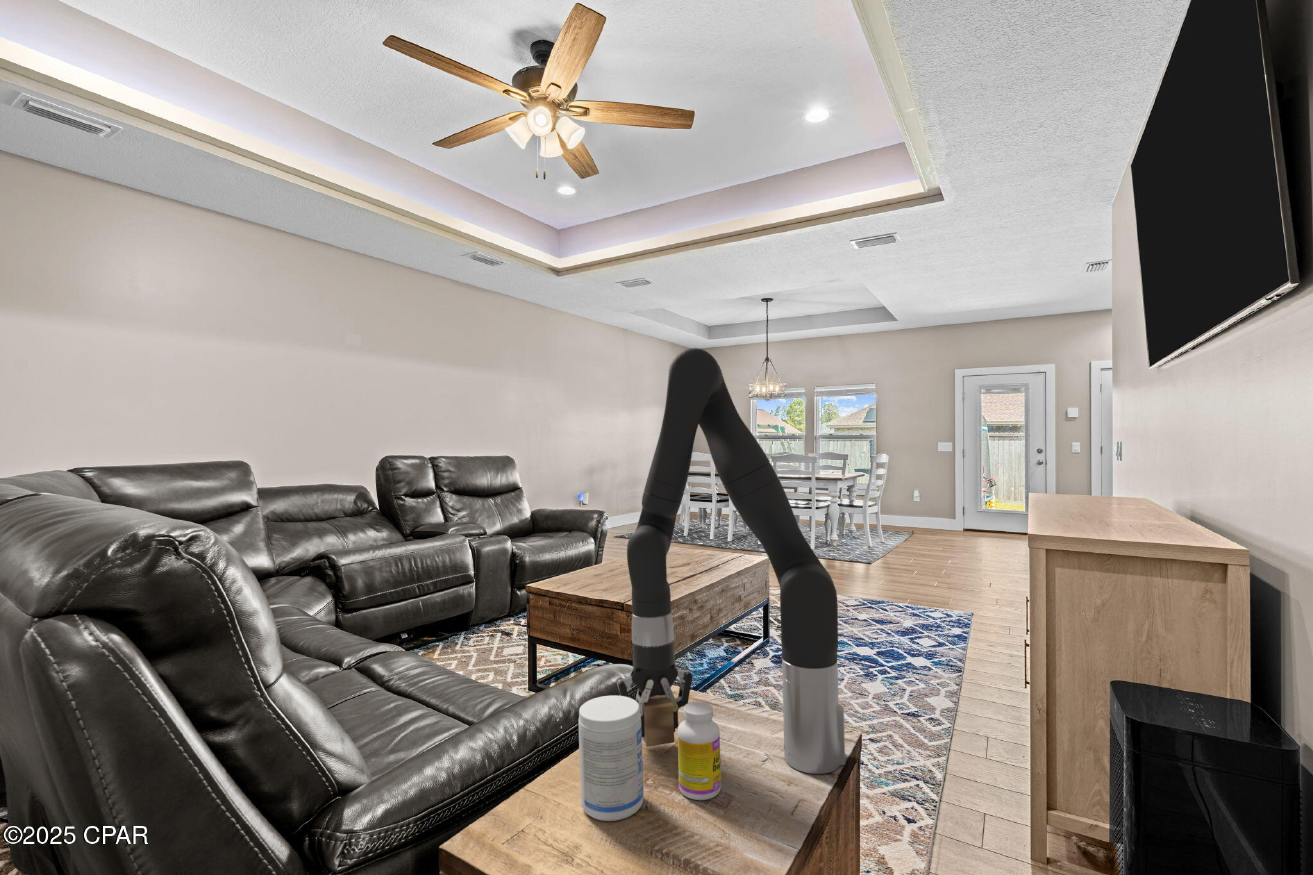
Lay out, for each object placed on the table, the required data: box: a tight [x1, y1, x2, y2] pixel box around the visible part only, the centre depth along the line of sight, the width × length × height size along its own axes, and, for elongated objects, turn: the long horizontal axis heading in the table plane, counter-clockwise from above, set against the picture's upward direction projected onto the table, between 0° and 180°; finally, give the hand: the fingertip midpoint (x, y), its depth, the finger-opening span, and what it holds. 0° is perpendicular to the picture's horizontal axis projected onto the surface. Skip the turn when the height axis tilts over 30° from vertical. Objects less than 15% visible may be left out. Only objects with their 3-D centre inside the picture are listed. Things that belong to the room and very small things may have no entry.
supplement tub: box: [578, 695, 645, 822], centre depth 90 cm, size 10×10×15 cm
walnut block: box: [642, 695, 675, 748], centre depth 106 cm, size 5×5×7 cm
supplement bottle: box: [677, 701, 722, 801], centre depth 94 cm, size 7×7×13 cm
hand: (656, 732), depth 106 cm, fingers closed on walnut block, 5 cm apart
